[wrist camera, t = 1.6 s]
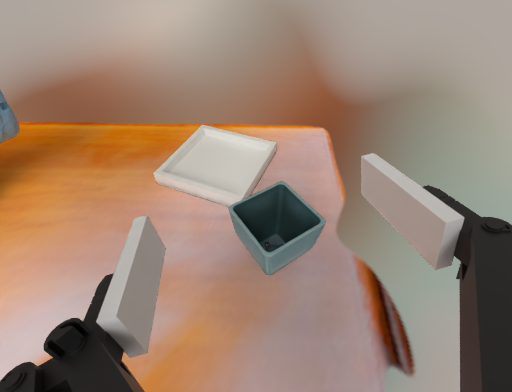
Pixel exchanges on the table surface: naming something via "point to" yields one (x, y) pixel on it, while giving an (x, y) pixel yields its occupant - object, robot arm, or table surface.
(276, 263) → the flower pot
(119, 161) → the table surface
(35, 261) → the table surface
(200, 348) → the table surface
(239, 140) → the tray
